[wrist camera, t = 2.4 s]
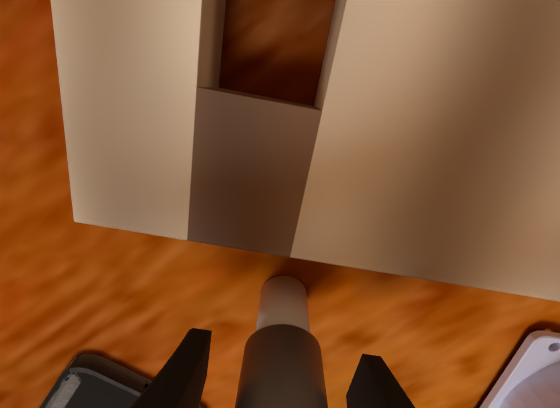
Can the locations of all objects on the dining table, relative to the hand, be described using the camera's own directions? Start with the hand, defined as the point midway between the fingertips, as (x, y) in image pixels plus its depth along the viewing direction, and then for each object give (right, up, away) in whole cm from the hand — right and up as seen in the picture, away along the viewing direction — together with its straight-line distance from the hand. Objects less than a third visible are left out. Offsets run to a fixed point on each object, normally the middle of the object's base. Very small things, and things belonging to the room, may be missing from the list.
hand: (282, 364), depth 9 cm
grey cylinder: (0, +1, +3) cm, 3 cm away
